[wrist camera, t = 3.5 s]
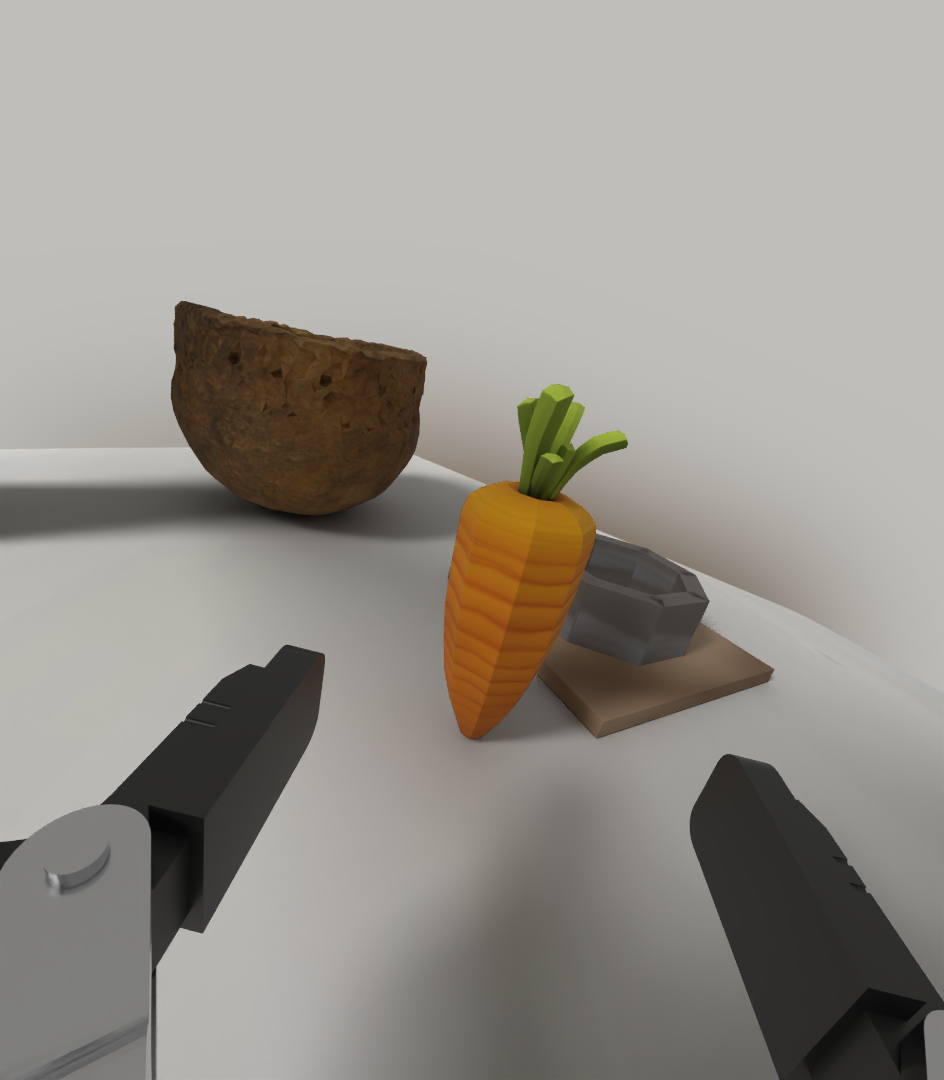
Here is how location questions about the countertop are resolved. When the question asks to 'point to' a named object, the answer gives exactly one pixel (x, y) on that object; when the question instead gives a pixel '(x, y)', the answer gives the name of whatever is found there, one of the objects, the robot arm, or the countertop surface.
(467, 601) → the carrot
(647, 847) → the countertop surface
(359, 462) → the bowl
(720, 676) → the ring holder
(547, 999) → the countertop surface
